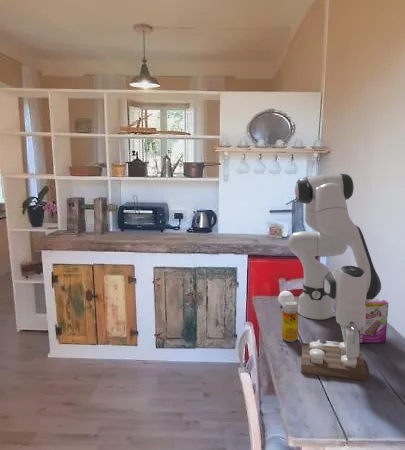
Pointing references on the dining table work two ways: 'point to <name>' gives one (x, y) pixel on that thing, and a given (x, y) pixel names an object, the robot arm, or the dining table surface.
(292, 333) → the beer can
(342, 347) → the button
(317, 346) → the button
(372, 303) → the candy bar box
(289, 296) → the geometric ball
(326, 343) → the pattern plaque
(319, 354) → the button
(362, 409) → the dining table surface
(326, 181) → the robot arm
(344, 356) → the button
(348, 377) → the button board
